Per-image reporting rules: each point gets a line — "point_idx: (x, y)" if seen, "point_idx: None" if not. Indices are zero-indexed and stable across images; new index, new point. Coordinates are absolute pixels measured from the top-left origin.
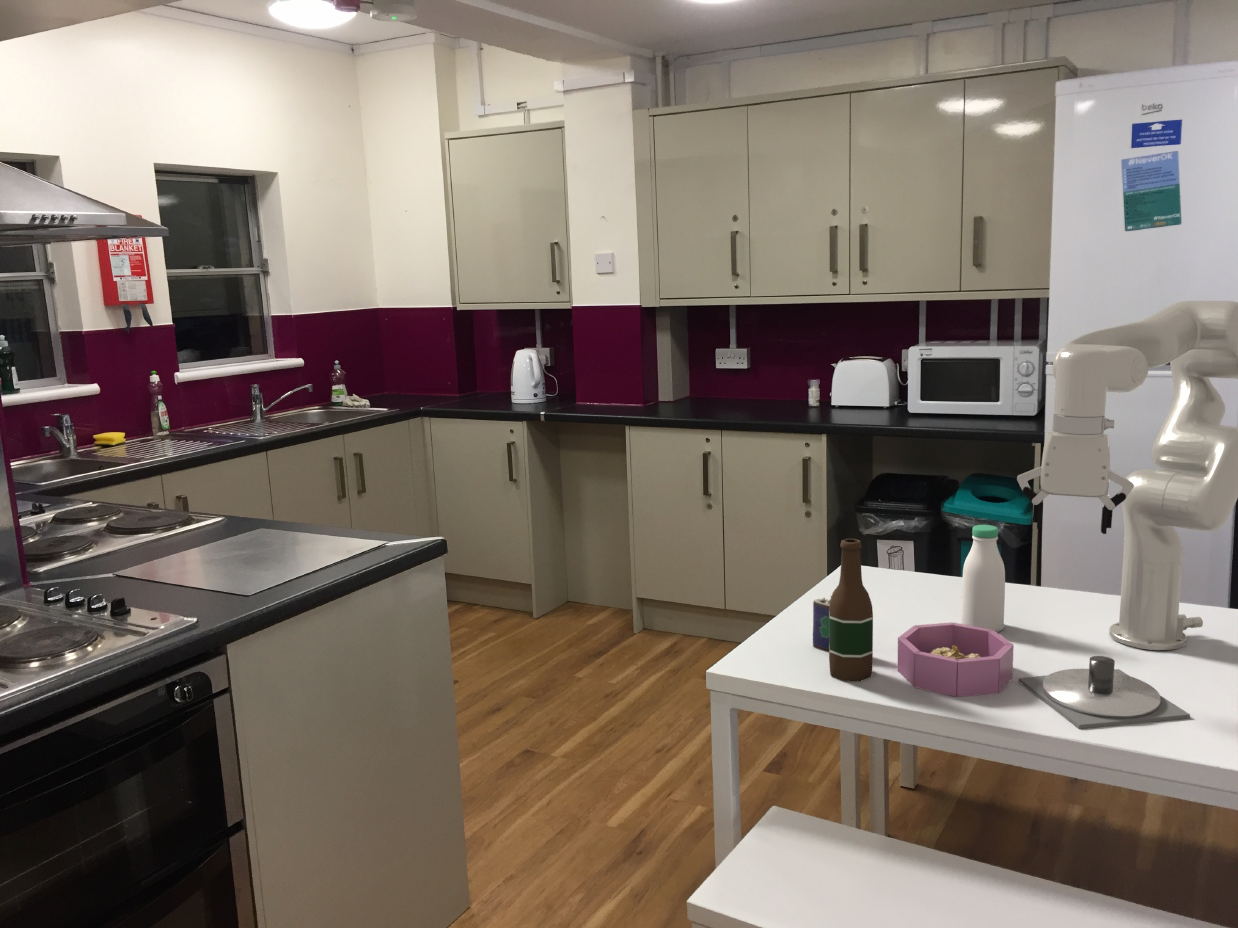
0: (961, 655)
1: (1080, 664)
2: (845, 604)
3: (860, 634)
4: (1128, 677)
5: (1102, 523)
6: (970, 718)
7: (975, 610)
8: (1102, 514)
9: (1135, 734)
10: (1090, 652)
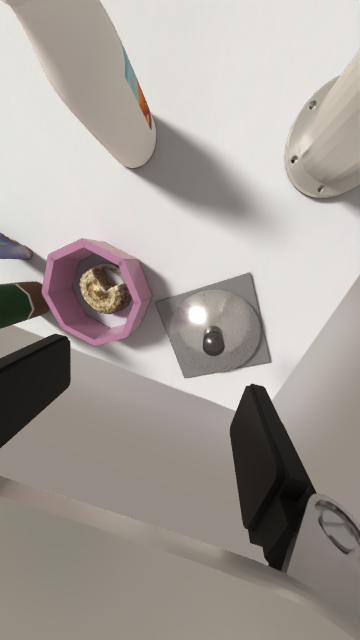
0: (104, 293)
1: (218, 255)
2: None
3: (6, 326)
4: (246, 308)
5: (235, 461)
6: (120, 364)
7: (109, 151)
8: (247, 482)
9: (219, 383)
10: (240, 215)
